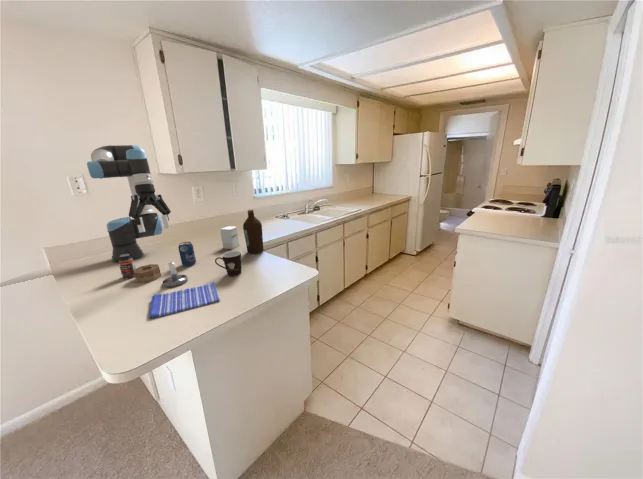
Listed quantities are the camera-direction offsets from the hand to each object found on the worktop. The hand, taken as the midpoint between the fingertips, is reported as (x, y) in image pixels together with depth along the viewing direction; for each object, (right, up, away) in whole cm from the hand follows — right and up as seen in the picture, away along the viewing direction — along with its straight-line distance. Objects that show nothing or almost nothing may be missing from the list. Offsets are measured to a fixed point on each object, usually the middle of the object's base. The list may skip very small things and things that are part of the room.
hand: (155, 230), depth 123 cm
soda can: (+7, -18, +18) cm, 27 cm away
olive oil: (+38, -12, +34) cm, 52 cm away
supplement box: (+20, -9, +44) cm, 50 cm away
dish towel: (+24, -29, -19) cm, 42 cm away
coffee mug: (+34, -21, +5) cm, 40 cm away
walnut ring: (-5, -23, +3) cm, 24 cm away
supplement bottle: (-16, -23, +6) cm, 29 cm away
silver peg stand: (+11, -24, -3) cm, 27 cm away
